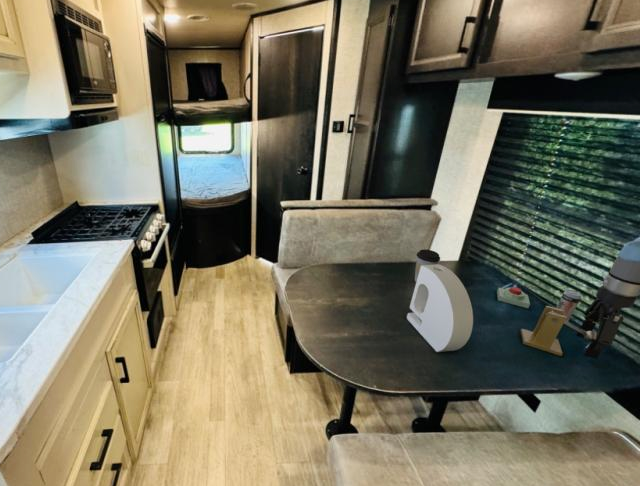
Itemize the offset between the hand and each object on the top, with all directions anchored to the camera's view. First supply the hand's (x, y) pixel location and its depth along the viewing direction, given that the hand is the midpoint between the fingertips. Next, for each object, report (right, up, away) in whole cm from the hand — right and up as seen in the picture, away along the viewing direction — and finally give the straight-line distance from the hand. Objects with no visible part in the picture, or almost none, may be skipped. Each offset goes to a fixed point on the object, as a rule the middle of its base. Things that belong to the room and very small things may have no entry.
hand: (585, 346), depth 104 cm
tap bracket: (-9, -1, +7) cm, 11 cm away
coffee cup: (-30, +15, +44) cm, 55 cm away
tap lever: (-5, +5, +1) cm, 7 cm away
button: (+2, +13, +29) cm, 32 cm away
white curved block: (-45, 0, +10) cm, 46 cm away
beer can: (+11, +4, +19) cm, 22 cm away
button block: (+2, +9, +30) cm, 32 cm away
